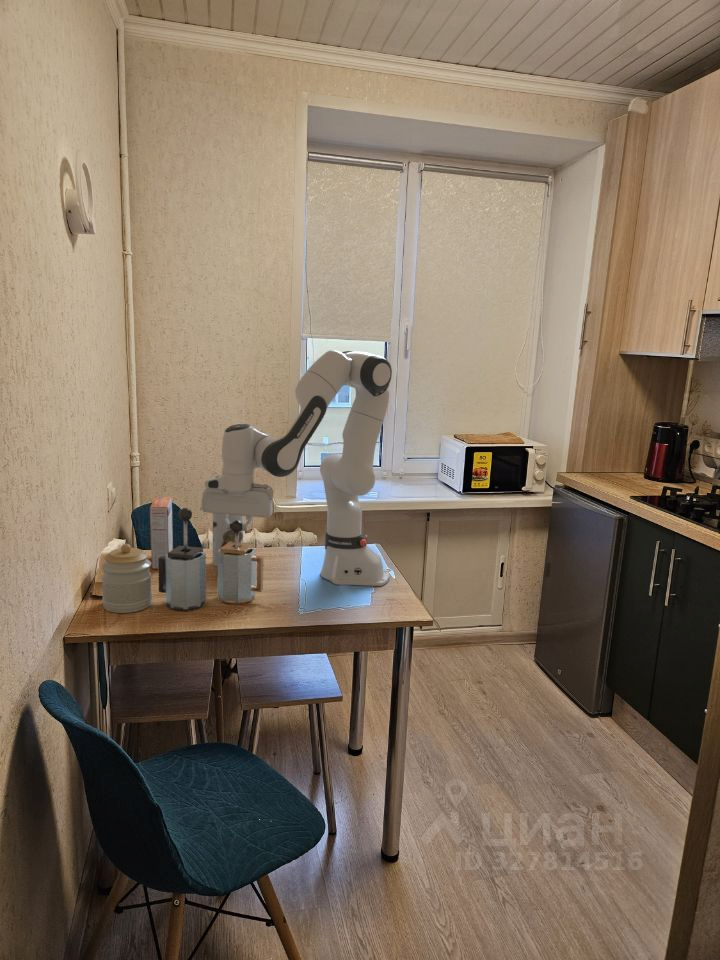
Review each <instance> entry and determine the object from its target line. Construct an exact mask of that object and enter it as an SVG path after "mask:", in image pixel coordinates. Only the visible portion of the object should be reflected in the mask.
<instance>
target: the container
mask: <svg viewBox="0 0 720 960" xmlns="http://www.w3.org/2000/svg"><path fill="white" fill-rule="evenodd" d="M244 517H245V516H240V515H229V516H227V518H228V520H229V522H233V521H236V520H239V521H241V522H242V523H243V524H245V523H244V520H245V519H244ZM229 530H230V529H225V523H224V521H223V519H222V518H221V514H218V513H212V565H213V566H214V567H216V566H217V567H216V568H218V550H219V549H220V548H221V546H222V542H223V541H224V540H223V534H224V533H225V532H227V531H229ZM241 533H242V534H243V535H244V531H241ZM241 543H244V538H243V539H242V540H241Z"/></svg>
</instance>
